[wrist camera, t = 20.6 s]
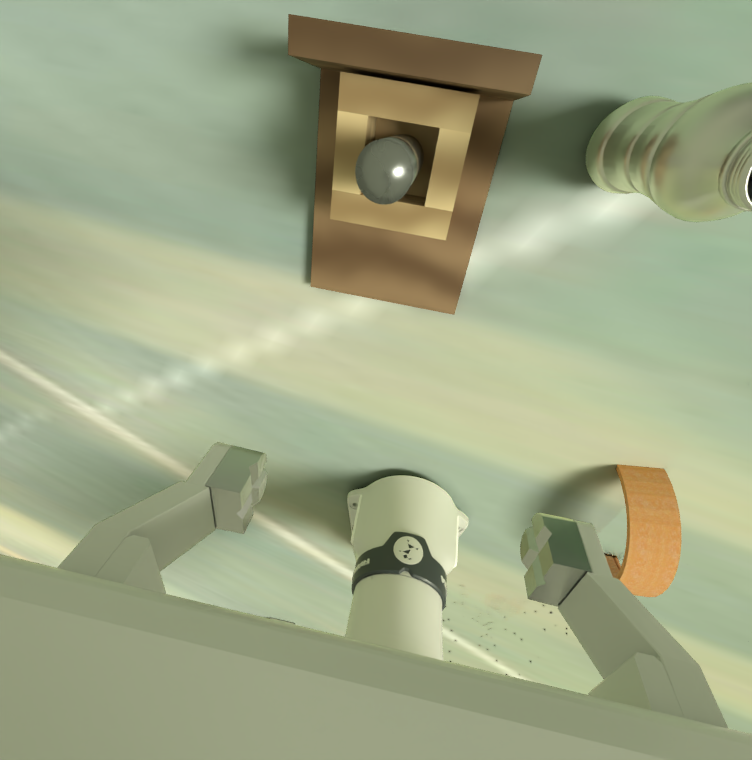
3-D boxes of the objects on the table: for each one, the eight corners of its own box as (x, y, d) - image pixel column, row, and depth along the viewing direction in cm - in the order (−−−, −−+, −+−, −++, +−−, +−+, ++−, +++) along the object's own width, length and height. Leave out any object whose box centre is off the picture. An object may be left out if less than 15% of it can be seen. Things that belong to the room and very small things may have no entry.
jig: (454, 310, 43) (455, 350, 36) (313, 283, 44) (285, 316, 36) (520, 70, 31) (542, 54, 24) (325, 39, 32) (288, 14, 25)
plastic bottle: (563, 147, 34) (673, 172, 17) (643, 75, 30) (874, 19, 14) (603, 205, 35) (738, 278, 19) (683, 143, 32) (930, 165, 16)
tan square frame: (446, 226, 37) (445, 240, 33) (344, 207, 38) (330, 218, 33) (475, 98, 32) (480, 94, 27) (355, 78, 32) (340, 71, 28)
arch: (665, 468, 50) (707, 535, 42) (614, 558, 61) (640, 626, 53) (616, 463, 51) (649, 529, 43) (575, 553, 62) (595, 619, 54)
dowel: (419, 184, 35) (407, 209, 25) (379, 177, 35) (352, 199, 25) (427, 137, 33) (418, 144, 23) (385, 130, 33) (358, 133, 23)
